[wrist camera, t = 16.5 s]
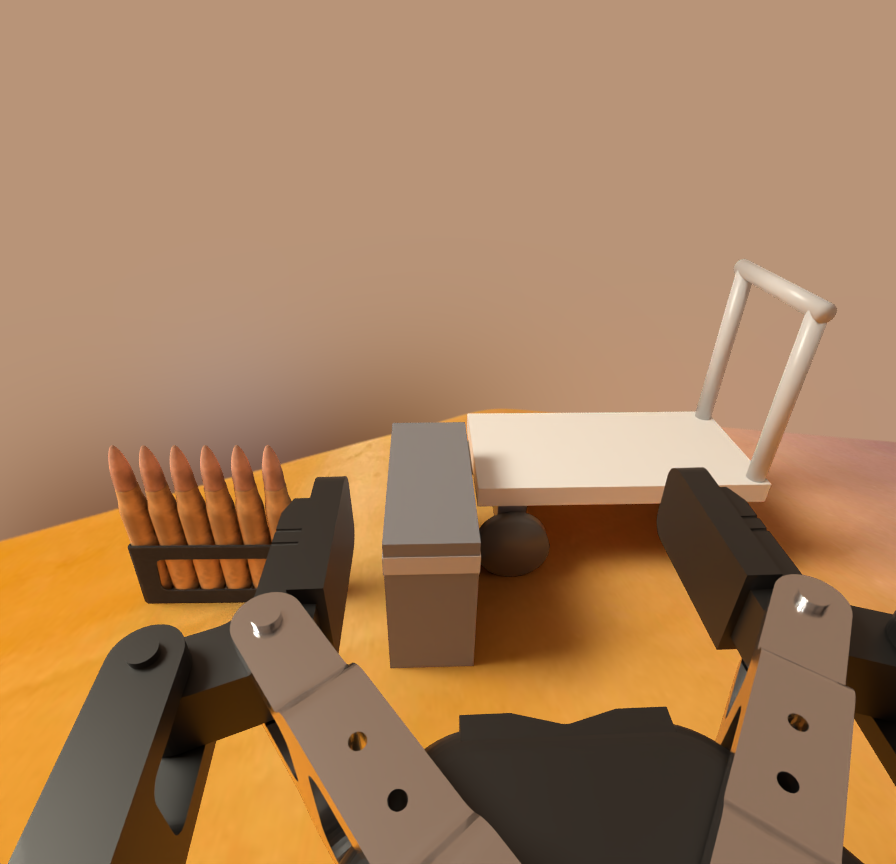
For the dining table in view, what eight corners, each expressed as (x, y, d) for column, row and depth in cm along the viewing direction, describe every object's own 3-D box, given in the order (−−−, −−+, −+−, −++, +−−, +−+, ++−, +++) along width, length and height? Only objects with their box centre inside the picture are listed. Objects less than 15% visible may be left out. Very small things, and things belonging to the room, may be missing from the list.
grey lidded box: (461, 530, 44) (465, 422, 38) (474, 666, 33) (481, 543, 28) (396, 532, 43) (391, 422, 38) (389, 669, 33) (380, 545, 28)
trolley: (681, 471, 51) (744, 253, 40) (749, 571, 40) (858, 311, 30) (464, 474, 50) (472, 252, 40) (475, 577, 39) (491, 312, 29)
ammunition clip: (145, 603, 37) (86, 455, 31) (156, 582, 39) (102, 437, 32) (305, 601, 37) (280, 454, 31) (310, 581, 39) (287, 437, 33)
